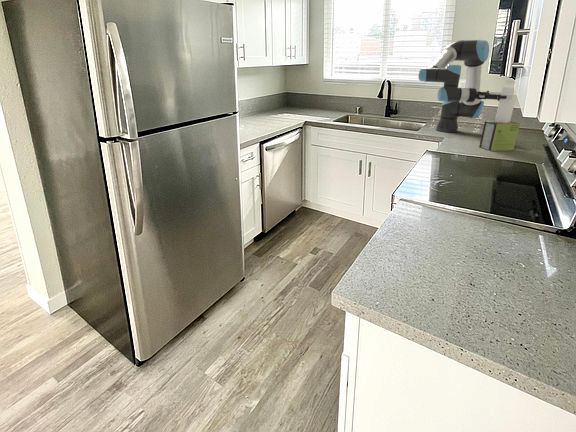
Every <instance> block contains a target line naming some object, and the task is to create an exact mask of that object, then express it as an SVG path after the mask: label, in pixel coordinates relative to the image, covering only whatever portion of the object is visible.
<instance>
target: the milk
mask: <svg viewBox="0 0 576 432" xmlns="http://www.w3.org/2000/svg"><path fill="white" fill-rule="evenodd" d="M514 81H515V80H513V81H512V80H506V81H505V83H504V85H503V86H502V87H501V91H500V92H501V94H508V95H513V96H512V100H499V101H498V106H497V110H496V114H495V117H494V121H495V122H501V123H508V122H510V121H511V119H512V116H513V111H514V107H515V103H516V99H517V96H515V95H514Z"/></svg>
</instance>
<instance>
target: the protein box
mask: <svg viewBox="0 0 576 432" xmlns="http://www.w3.org/2000/svg"><path fill="white" fill-rule="evenodd" d="M520 125H521V123H520V122H516V121H511V120H510V122H508V123H501V122H495V120H486V121H484V124H483V129H482V133H481V137H480V143H479V148H481V149H484V150H487V151H490V152H491V151H492V152H497V151H499V152H500V151H503V152H504V151H514V149H515V145H516V141H517V138H518V133H519V130H520Z"/></svg>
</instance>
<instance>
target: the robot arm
mask: <svg viewBox="0 0 576 432" xmlns="http://www.w3.org/2000/svg"><path fill="white" fill-rule="evenodd" d="M489 53H490V45H489V42H488V40H485V39H483V40H482V39H472V40H471V39H470V40H469V39H468V40H467V39H466V40H465V39H464V40H463V39H461V40H457V41H454V42H452V43H450V44H448V45H446V46H445V47H444V48H443V49H442V50H441V52H440V55H439V56H438V57H437V58H435V60H434V61H432V62H431V64H430V65H429V66H428V67H421V68H420V70H419V72H418V80H419V81H420V82H424V83H428V82H429V83H443V86H442V87H439V89H438V92H437V100H438V101H439V102H442V105H441V110H440V111H441V112H440V117H439V121H438V122H437V124H436V126H435V131H438V132H444V133H457V132H459V124H458V123H459V122H458V118H459V117H460V118H467V119H468V118H469V119H479V117H480V116H481V114H482V112H483V108H484V106H485V101H483V100H495V101H497V102H499V100H512V96H513V95H508V94H501V92H502V91H499V92H498V91H495V92H493V91H489V90H486V91H481V90H480V89H481V76H482V66H483V65H484V64H485V62H486V61H487V60H488V59H489V55H490V54H489ZM455 61H458V62H459V61H463V64H464V66H465V67H466V69H465V70H466V71H465V87H459V84H460V83H459V82H460V79H461V71H462V66H461V65H460V64H450V63H453V62H455Z"/></svg>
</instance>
